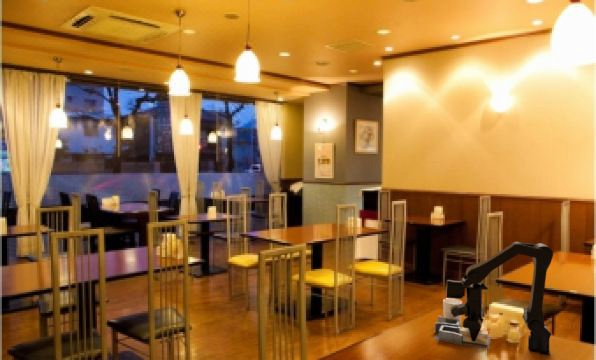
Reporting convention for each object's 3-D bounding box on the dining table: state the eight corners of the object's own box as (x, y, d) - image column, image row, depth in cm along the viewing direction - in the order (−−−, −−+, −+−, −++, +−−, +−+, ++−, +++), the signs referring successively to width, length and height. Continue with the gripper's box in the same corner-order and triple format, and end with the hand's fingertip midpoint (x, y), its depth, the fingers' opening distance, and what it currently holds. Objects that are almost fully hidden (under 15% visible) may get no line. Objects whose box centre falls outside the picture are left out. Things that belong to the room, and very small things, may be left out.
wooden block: (488, 341, 175) (488, 331, 175) (487, 344, 172) (487, 334, 172) (460, 337, 180) (460, 327, 180) (459, 340, 177) (459, 330, 177)
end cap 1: (434, 332, 187) (434, 323, 186) (438, 325, 195) (438, 315, 195) (457, 336, 183) (457, 326, 183) (460, 328, 191) (460, 318, 191)
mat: (491, 333, 186) (491, 332, 186) (488, 349, 171) (488, 348, 171) (440, 326, 195) (440, 325, 195) (433, 340, 180) (433, 339, 180)
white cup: (458, 328, 192) (458, 305, 192) (440, 324, 197) (440, 301, 197) (464, 323, 199) (464, 300, 198) (446, 319, 203) (446, 297, 203)
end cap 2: (465, 337, 182) (465, 327, 182) (462, 346, 173) (462, 335, 173) (442, 333, 186) (442, 323, 186) (438, 342, 177) (438, 331, 177)
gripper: (455, 290, 187) (455, 328, 188) (448, 303, 171) (448, 344, 171) (484, 293, 182) (484, 332, 183) (480, 307, 166) (480, 350, 166)
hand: (473, 339), depth 176 cm, fingers closed on wooden block, 3 cm apart
